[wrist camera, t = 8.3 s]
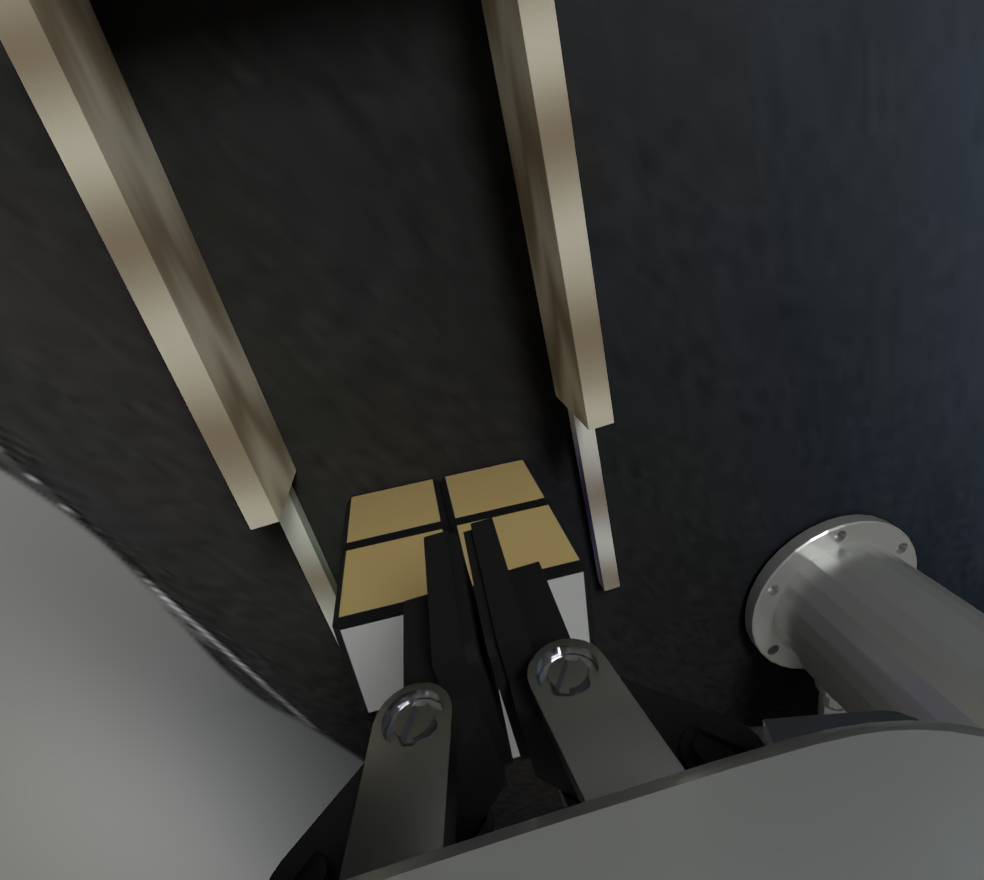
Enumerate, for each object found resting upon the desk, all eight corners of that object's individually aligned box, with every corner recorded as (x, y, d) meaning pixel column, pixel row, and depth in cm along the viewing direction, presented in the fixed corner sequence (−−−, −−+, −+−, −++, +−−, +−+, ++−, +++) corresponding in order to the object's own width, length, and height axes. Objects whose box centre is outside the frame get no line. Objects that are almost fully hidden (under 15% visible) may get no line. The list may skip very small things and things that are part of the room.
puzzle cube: (545, 596, 33) (605, 737, 24) (388, 635, 32) (390, 799, 23) (527, 455, 29) (590, 562, 20) (345, 495, 28) (328, 626, 19)
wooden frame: (613, 576, 34) (649, 632, 29) (352, 659, 32) (347, 731, 28) (488, -182, 19) (520, -307, 14) (0, -87, 18) (-131, -191, 13)
